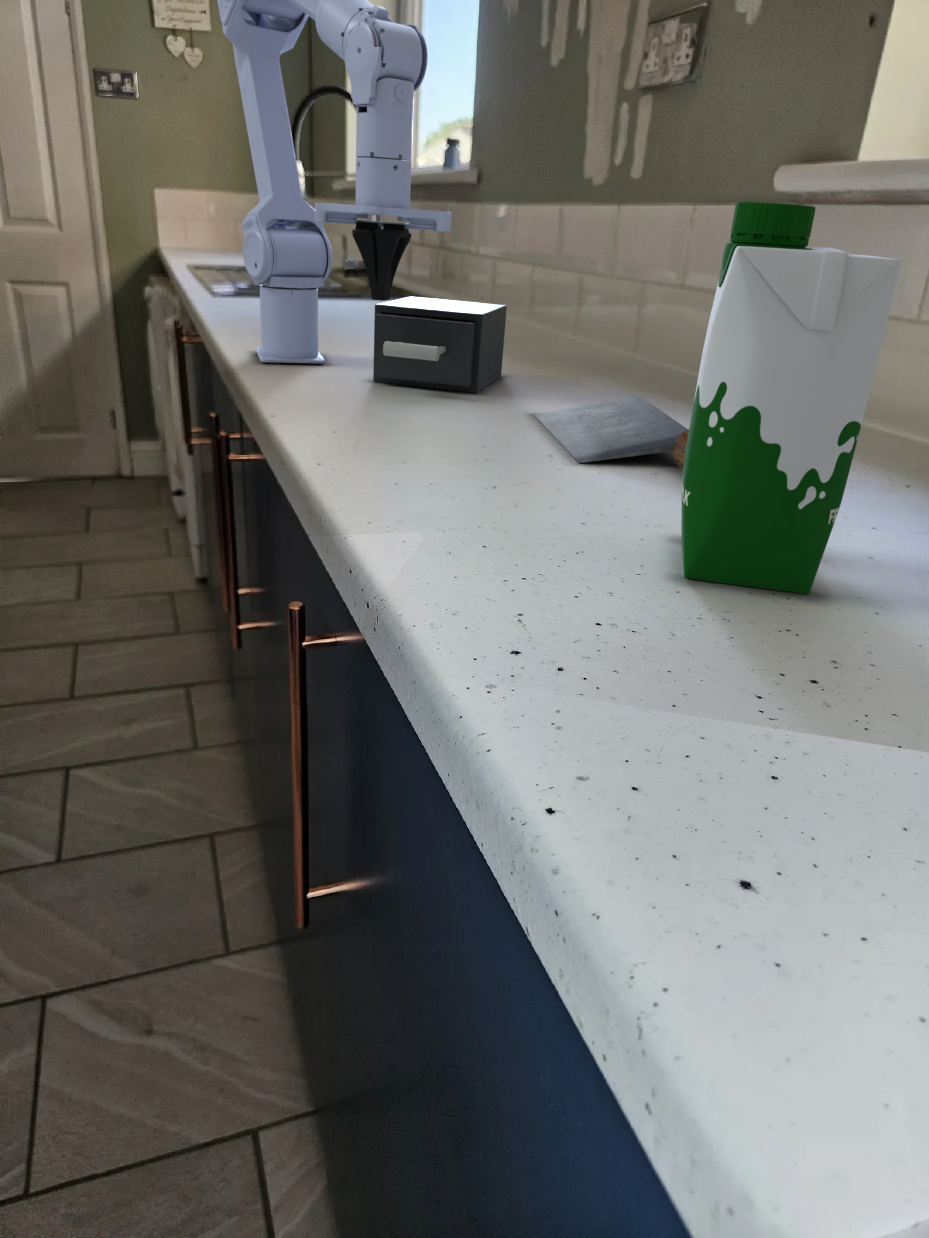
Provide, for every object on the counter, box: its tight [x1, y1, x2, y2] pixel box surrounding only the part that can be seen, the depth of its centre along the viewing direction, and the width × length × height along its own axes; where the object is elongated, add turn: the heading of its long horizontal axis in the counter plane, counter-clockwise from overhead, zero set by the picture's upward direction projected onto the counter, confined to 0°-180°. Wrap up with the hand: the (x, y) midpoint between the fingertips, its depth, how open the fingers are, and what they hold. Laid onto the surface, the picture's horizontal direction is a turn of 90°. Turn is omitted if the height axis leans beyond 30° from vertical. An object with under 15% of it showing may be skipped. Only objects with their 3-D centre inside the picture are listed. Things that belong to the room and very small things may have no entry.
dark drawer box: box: [372, 313, 475, 387], centre depth 101 cm, size 17×11×7 cm, turn 166°
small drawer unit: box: [372, 295, 508, 394], centre depth 105 cm, size 14×13×9 cm
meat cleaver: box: [534, 394, 689, 470], centre depth 76 cm, size 34×11×4 cm, turn 8°
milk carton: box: [680, 201, 903, 595], centre depth 49 cm, size 9×9×20 cm
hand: (380, 299), depth 95 cm, fingers closed
